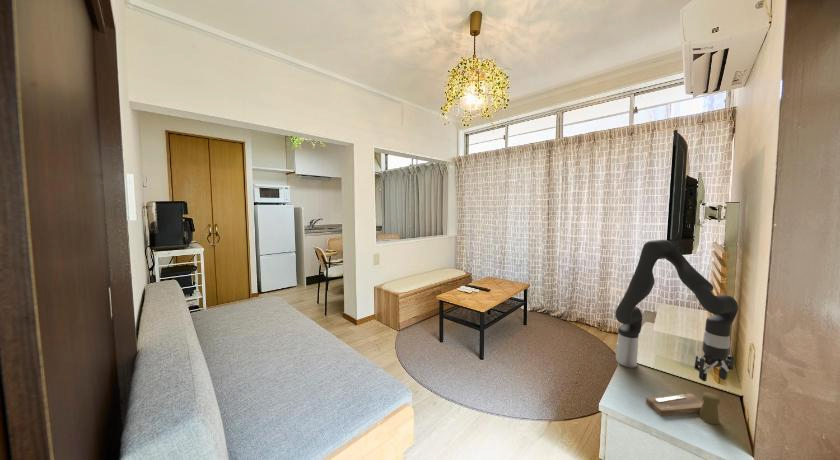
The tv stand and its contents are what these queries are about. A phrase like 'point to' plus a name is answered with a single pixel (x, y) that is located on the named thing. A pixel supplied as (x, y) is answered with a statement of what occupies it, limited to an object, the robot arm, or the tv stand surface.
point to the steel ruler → (670, 398)
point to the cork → (710, 408)
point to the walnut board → (675, 405)
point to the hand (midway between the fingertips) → (712, 379)
